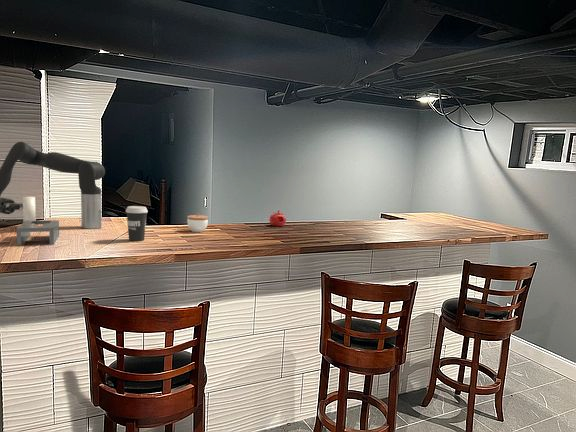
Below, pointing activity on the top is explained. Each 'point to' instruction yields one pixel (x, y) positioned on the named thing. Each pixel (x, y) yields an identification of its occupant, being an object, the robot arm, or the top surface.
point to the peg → (29, 209)
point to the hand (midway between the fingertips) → (23, 208)
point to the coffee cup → (136, 222)
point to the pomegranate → (277, 219)
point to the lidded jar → (197, 222)
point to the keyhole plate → (38, 230)
